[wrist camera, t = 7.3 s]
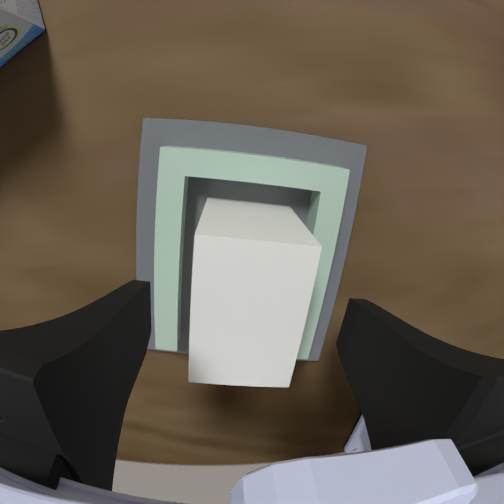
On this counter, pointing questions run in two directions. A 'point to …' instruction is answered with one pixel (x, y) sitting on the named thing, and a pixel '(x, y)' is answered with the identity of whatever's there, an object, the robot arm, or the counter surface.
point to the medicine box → (18, 26)
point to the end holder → (243, 189)
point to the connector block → (249, 293)
